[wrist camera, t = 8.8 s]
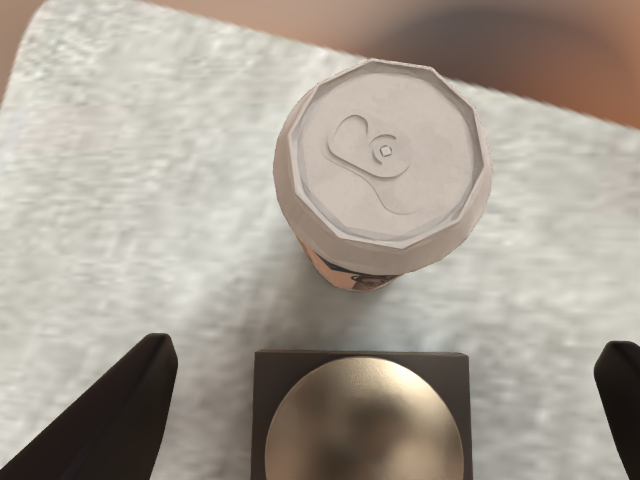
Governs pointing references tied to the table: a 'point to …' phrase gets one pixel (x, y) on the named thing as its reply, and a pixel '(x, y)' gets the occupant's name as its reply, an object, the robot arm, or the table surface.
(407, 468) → the warming plate
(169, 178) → the table surface
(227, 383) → the table surface
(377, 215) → the beer can
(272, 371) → the warmer
